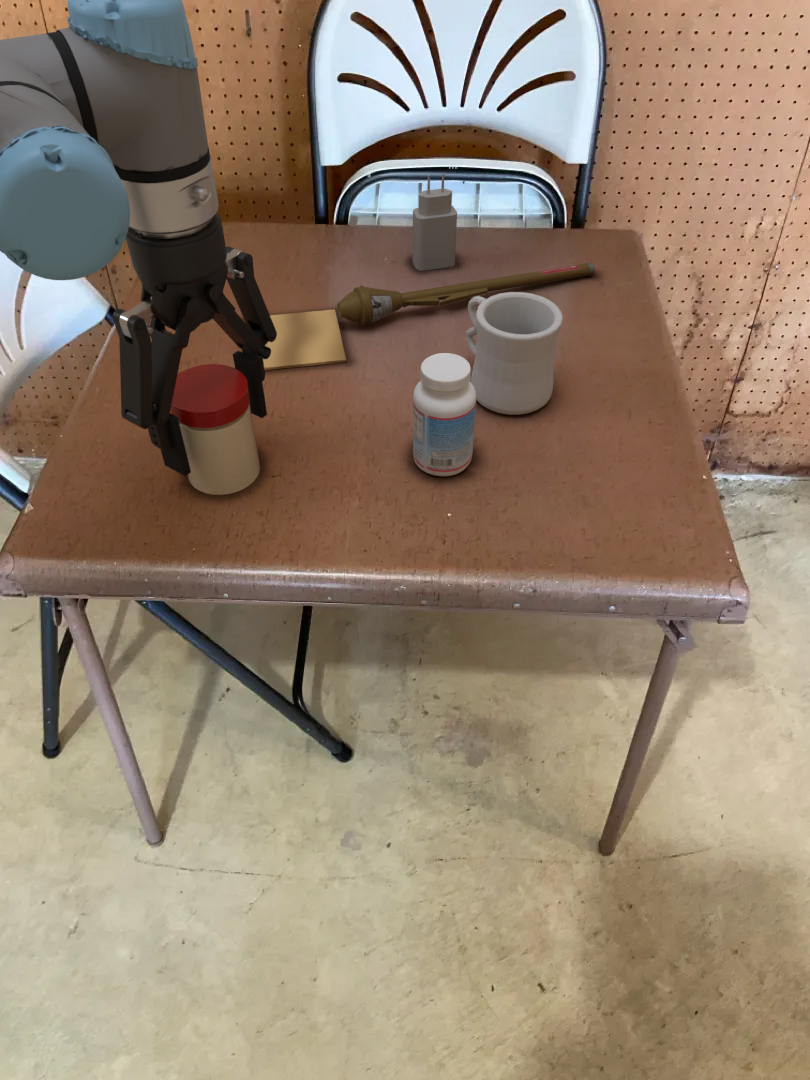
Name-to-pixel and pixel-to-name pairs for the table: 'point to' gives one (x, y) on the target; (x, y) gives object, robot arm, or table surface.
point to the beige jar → (222, 456)
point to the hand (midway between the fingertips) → (217, 439)
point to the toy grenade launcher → (442, 293)
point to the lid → (210, 396)
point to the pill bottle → (444, 415)
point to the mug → (513, 350)
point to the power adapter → (434, 229)
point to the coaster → (305, 340)
